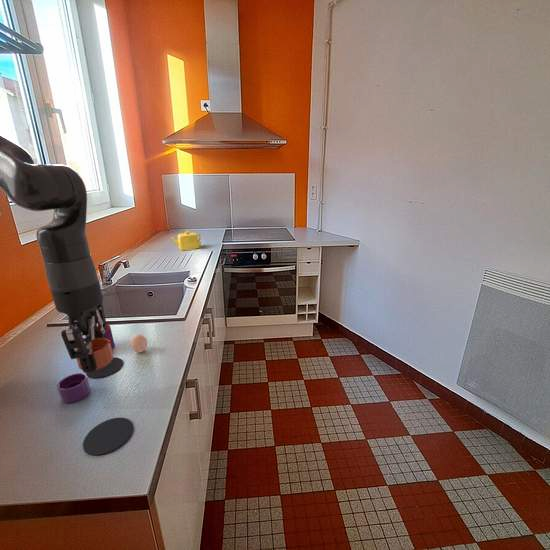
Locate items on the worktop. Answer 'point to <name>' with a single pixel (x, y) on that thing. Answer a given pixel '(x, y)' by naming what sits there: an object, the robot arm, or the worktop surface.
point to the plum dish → (73, 387)
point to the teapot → (187, 241)
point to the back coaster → (107, 369)
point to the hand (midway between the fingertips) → (96, 360)
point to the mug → (108, 335)
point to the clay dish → (100, 352)
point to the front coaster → (108, 436)
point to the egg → (138, 343)
